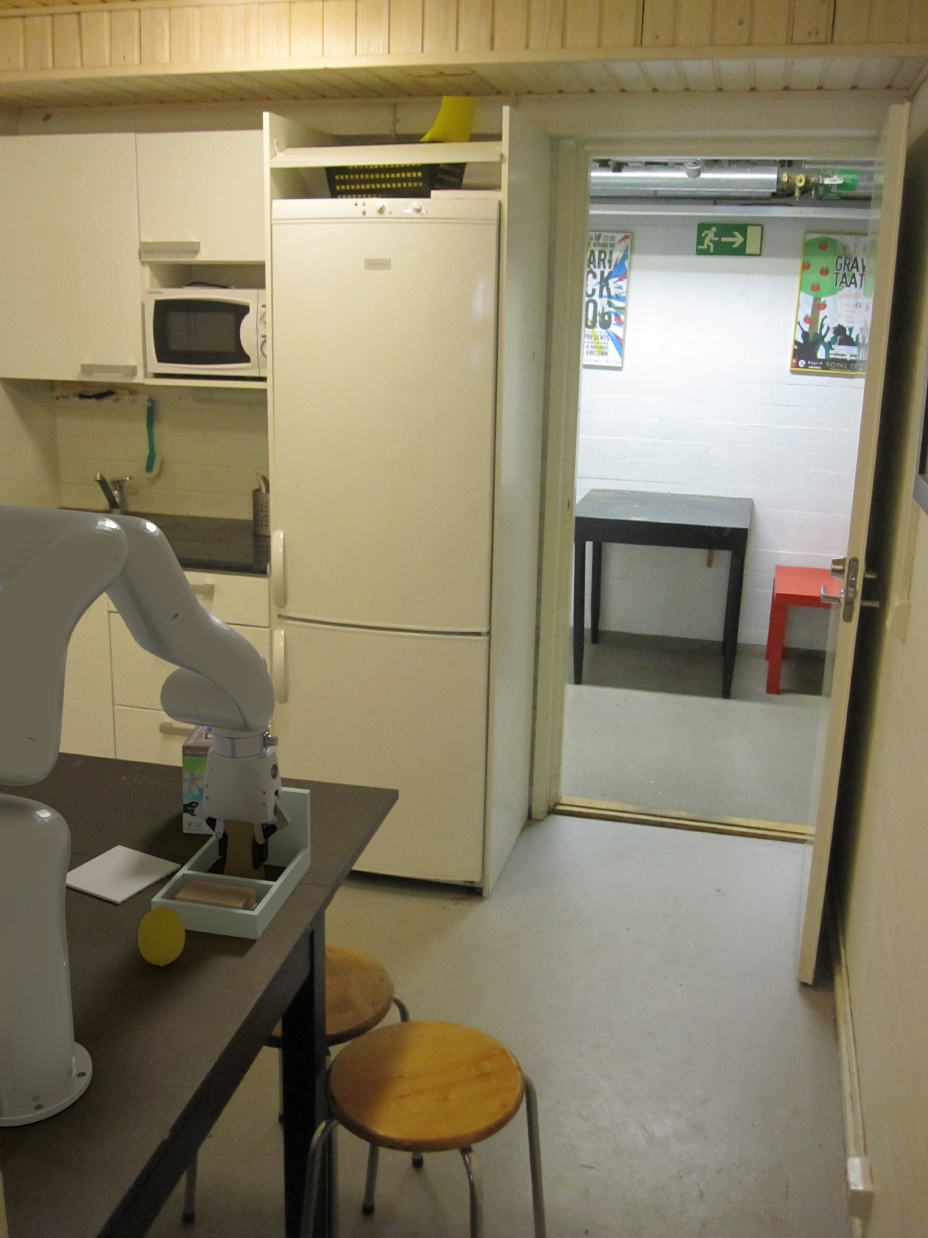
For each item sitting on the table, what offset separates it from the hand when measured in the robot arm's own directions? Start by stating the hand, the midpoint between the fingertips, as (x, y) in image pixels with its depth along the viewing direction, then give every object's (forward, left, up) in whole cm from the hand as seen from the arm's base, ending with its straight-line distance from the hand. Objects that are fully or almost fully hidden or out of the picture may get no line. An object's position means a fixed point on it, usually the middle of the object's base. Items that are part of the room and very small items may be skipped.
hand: (243, 862), depth 150 cm
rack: (-3, -1, -3) cm, 4 cm away
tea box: (+16, +17, -4) cm, 23 cm away
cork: (0, 0, -3) cm, 3 cm away
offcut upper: (-9, -3, -2) cm, 10 cm away
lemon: (-21, -4, -4) cm, 22 cm away
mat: (-7, +17, -3) cm, 18 cm away
